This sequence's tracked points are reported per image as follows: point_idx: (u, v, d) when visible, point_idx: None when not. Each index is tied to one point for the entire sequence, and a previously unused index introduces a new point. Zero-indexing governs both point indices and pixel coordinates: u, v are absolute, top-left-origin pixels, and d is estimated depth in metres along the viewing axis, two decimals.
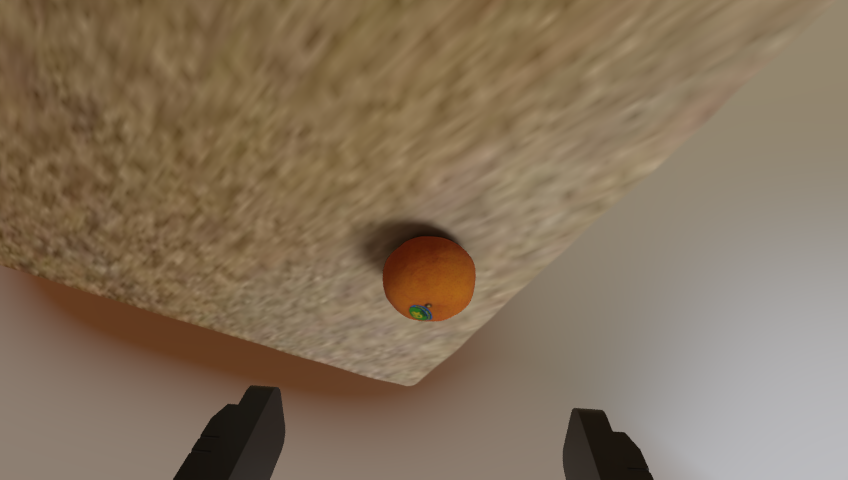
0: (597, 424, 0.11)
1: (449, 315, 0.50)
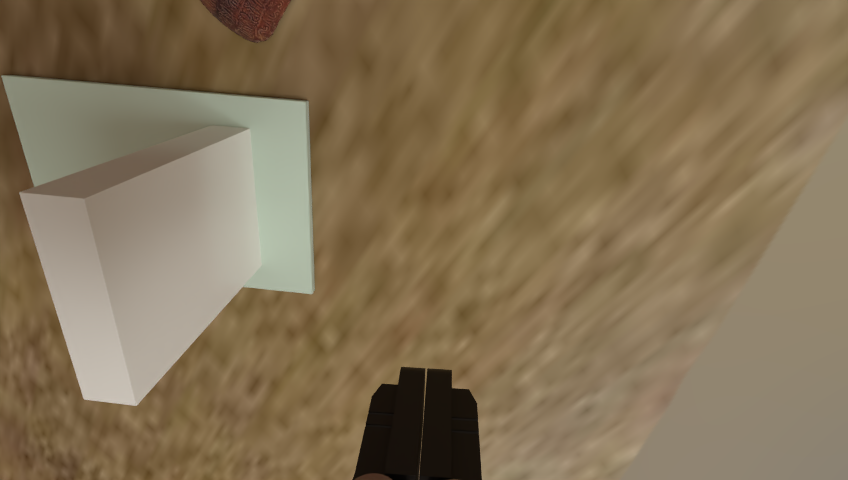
0: (440, 381, 0.12)
1: None
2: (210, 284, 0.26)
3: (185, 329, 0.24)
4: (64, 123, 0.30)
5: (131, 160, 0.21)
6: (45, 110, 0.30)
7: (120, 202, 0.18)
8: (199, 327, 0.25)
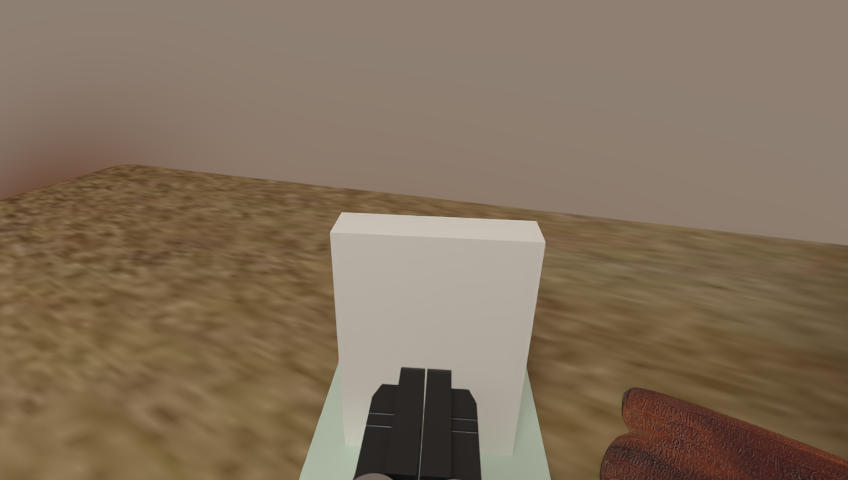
0: (440, 381, 0.12)
1: None
2: (380, 357, 0.24)
3: (358, 309, 0.23)
4: None
5: None
6: None
7: (524, 273, 0.22)
8: (345, 329, 0.24)
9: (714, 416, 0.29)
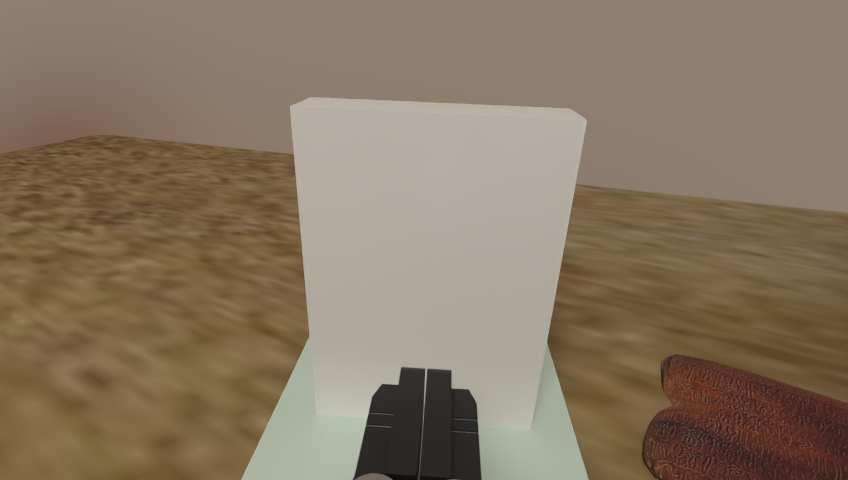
0: (440, 381, 0.12)
1: None
2: (361, 292, 0.18)
3: (331, 223, 0.17)
4: None
5: None
6: None
7: (556, 168, 0.16)
8: (313, 252, 0.18)
9: (780, 386, 0.24)
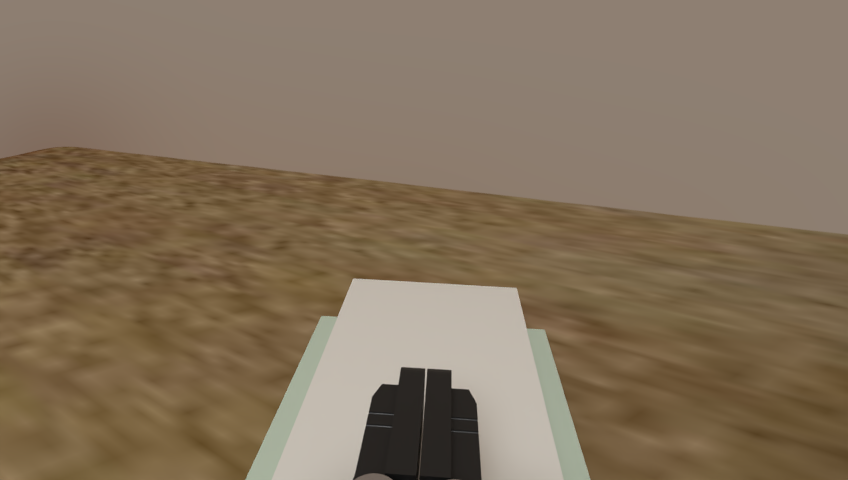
0: (440, 381, 0.12)
1: None
2: (370, 357, 0.21)
3: (359, 319, 0.24)
4: None
5: None
6: None
7: (507, 302, 0.26)
8: (340, 333, 0.23)
9: None
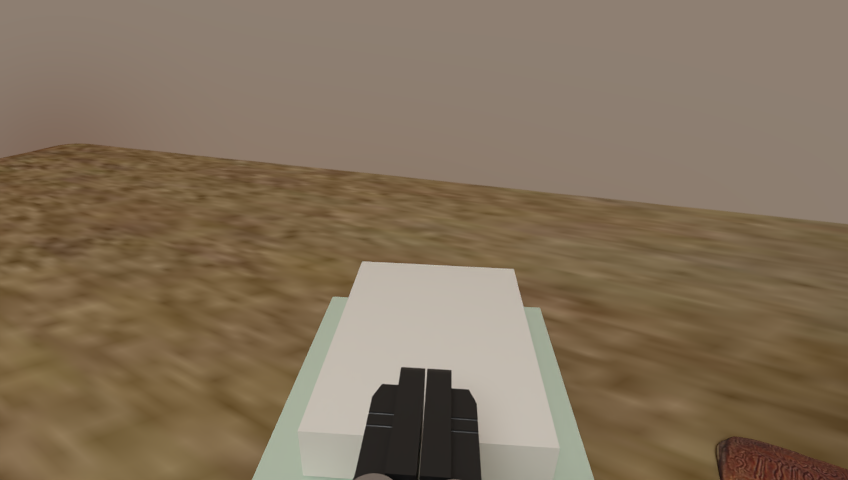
0: (440, 381, 0.12)
1: None
2: (381, 328, 0.23)
3: (369, 296, 0.26)
4: None
5: None
6: None
7: (505, 281, 0.28)
8: (352, 308, 0.25)
9: None
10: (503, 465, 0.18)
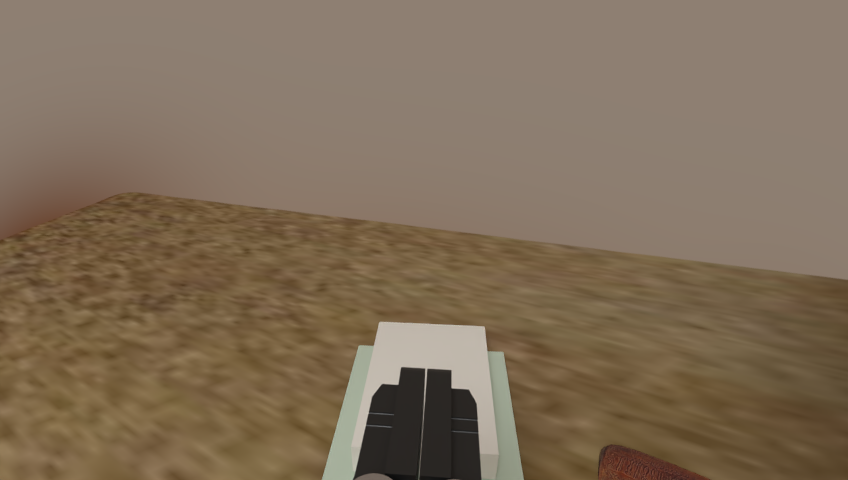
0: (440, 381, 0.12)
1: None
2: (395, 376, 0.37)
3: (386, 351, 0.39)
4: None
5: None
6: None
7: (477, 337, 0.41)
8: (375, 361, 0.38)
9: (683, 476, 0.32)
10: None
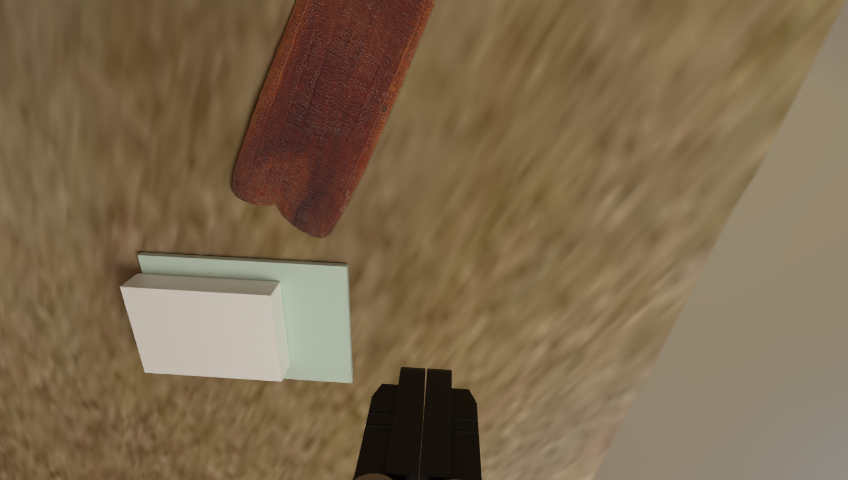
0: (440, 381, 0.12)
1: None
2: (211, 358, 0.44)
3: (183, 365, 0.45)
4: None
5: (183, 280, 0.43)
6: (166, 274, 0.44)
7: (139, 294, 0.42)
8: (197, 372, 0.45)
9: (253, 146, 0.38)
10: (277, 307, 0.43)
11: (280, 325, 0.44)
